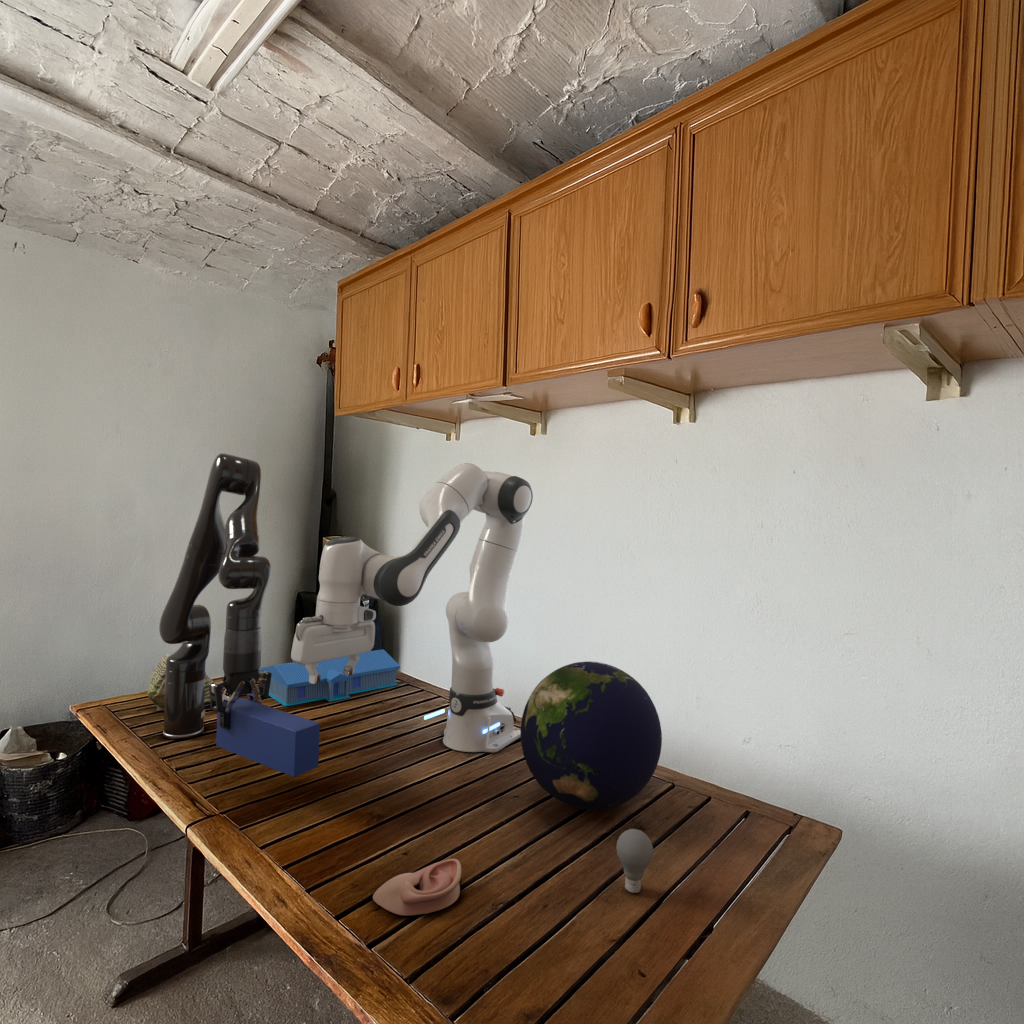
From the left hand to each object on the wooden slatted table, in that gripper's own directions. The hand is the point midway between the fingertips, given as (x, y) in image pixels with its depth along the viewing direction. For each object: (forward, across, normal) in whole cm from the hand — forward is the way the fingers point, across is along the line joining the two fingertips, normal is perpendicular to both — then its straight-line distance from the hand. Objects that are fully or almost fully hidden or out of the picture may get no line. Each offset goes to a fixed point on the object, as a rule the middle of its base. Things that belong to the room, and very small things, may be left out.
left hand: (239, 724), depth 138 cm
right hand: (-12, +8, -20) cm, 24 cm away
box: (+5, 0, -9) cm, 10 cm away
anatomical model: (+13, -7, -57) cm, 59 cm away
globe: (+13, +38, -66) cm, 77 cm away
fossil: (+13, +21, +56) cm, 61 cm away
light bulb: (+13, +14, -85) cm, 87 cm away
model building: (+13, +60, +36) cm, 71 cm away
